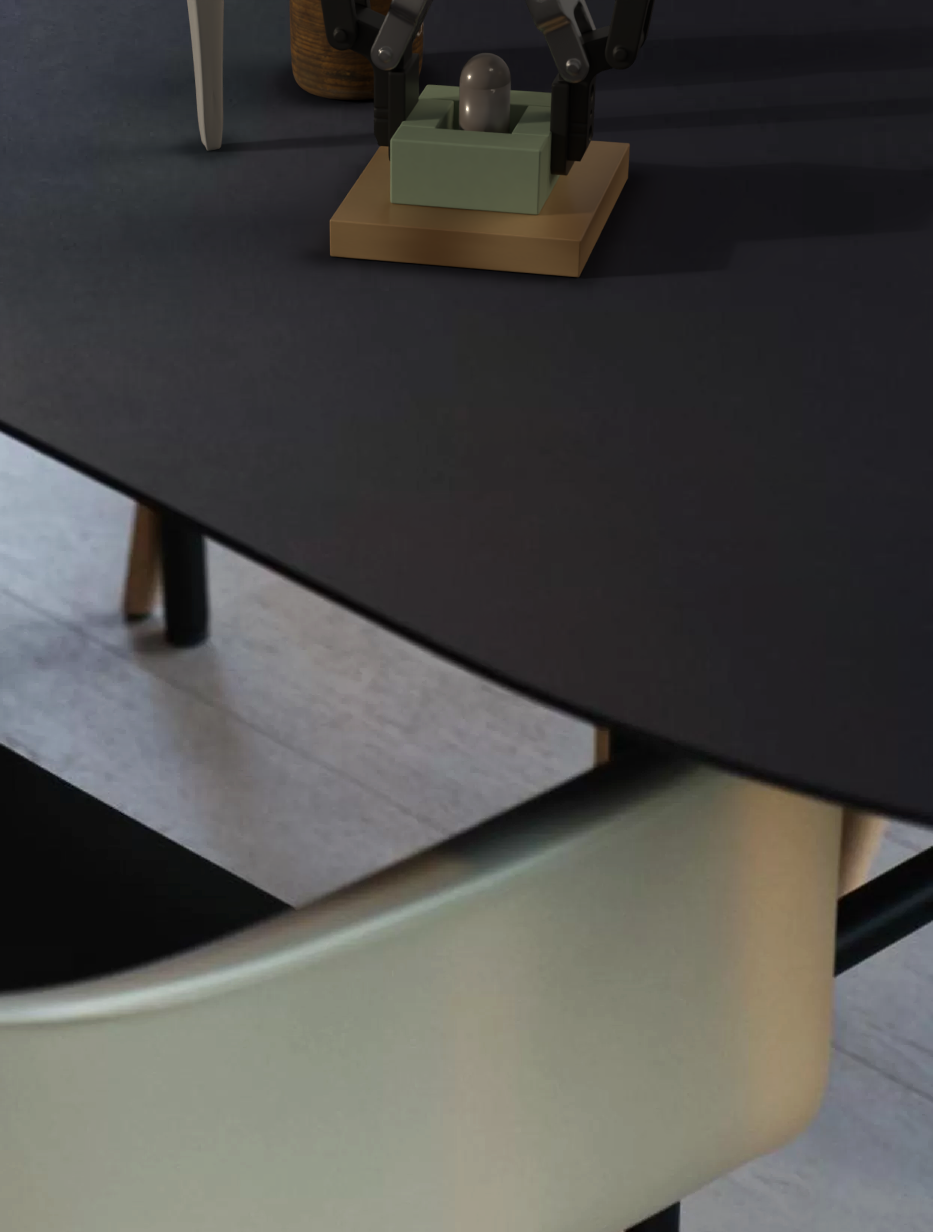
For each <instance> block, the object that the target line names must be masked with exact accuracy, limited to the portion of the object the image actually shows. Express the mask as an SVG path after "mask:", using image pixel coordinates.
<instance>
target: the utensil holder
mask: <svg viewBox="0 0 933 1232" xmlns="http://www.w3.org/2000/svg"><path fill="white" fill-rule="evenodd" d="M391 2H392V0H370V6H371V10H373V11H376V12H378V13H380V14H382V15H385V16H386V15H387V13H388V11H389V7H390V4H391ZM289 40H290V56H291V57H290V60H291V69H292V74H293V78H294V80H295V82H296V84H297V85H298V86H299V87H300V88H301V89H302V90H304V91H305V92H307V93H309V94H311V95H314V96H317V97H320V98H325V99H331V100H337V101H338V100H339V101H367V100H374V71H373V67H372V65H371V63H370V62H369V60H368V59H367V58H366V57H364V56H363V55H361V54H359V53H357V52H354V51H352V50H350V49H347V50H344V51H340V50H336V49H334V48H333V47H332V46H331V45H330V44H329V42H328V41H327V37H326V31H325V25H324V19H323V12H322V6H321V0H289ZM412 53H418V54H419V76H420V74H421V71H422V65H423V56H424V22H423V23H422V25H421V27H420V29H419V32H418V34H417V36H416V38H415V40H414V42H413V44H412Z"/></svg>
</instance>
